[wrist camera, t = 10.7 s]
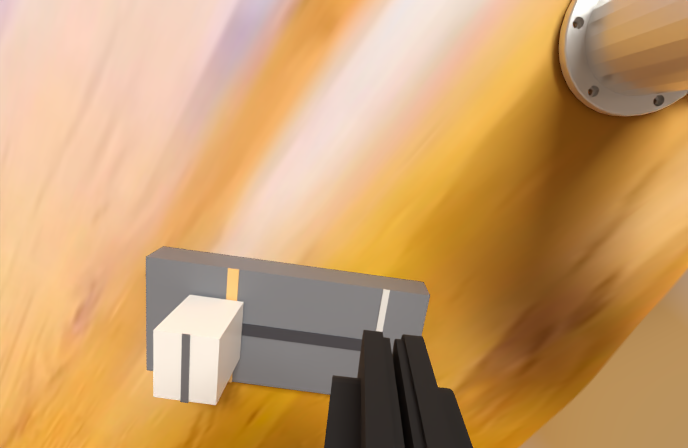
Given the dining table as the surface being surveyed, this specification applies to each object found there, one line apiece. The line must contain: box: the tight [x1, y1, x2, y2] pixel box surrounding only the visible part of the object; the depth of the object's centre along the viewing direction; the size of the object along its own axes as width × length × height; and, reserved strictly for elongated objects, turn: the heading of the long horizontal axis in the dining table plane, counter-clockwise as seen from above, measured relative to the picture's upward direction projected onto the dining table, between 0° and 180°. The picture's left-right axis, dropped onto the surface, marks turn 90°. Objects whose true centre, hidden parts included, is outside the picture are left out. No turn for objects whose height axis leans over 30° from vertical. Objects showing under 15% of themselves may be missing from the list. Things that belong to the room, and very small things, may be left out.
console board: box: [146, 246, 430, 394], centre depth 34 cm, size 26×12×3 cm, turn 82°
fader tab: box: [153, 295, 244, 405], centre depth 30 cm, size 5×6×6 cm
